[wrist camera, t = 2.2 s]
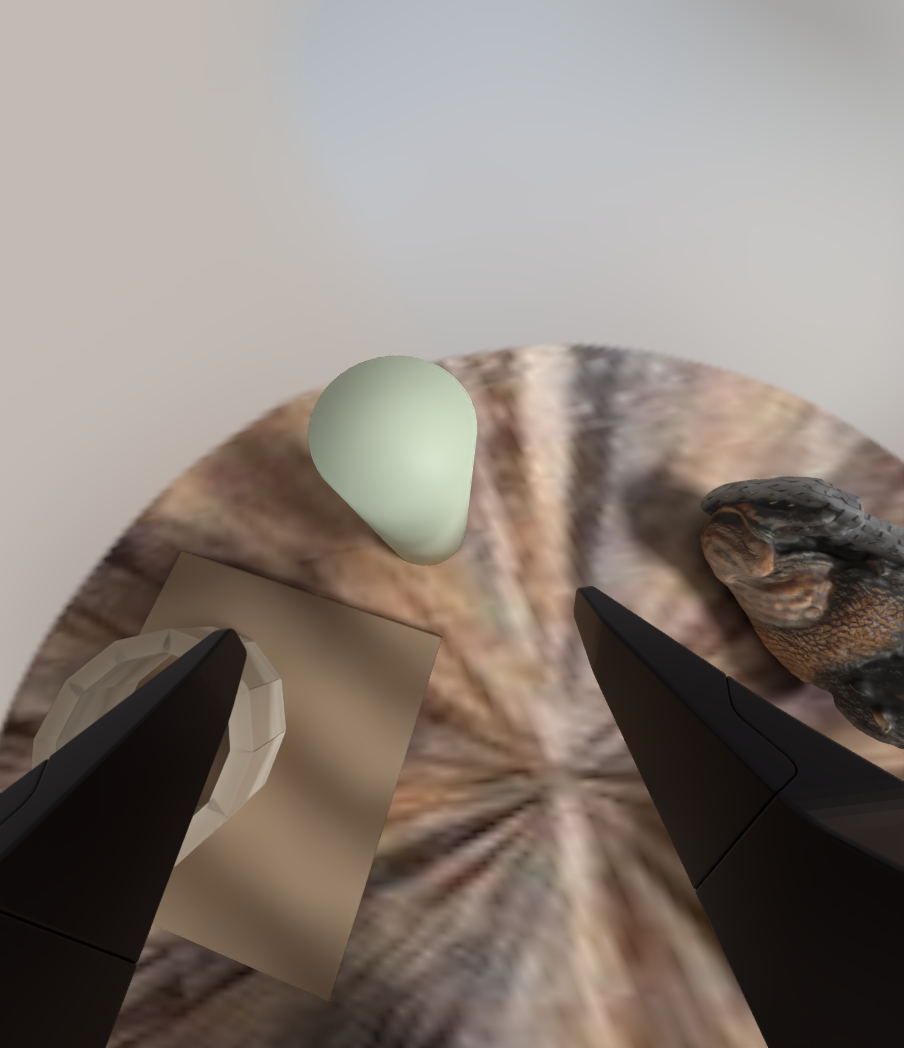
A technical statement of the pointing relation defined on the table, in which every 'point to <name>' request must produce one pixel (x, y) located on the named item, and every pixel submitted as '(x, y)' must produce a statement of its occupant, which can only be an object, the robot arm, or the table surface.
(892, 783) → the robot arm
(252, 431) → the table surface
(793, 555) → the dark brown lumpy piece
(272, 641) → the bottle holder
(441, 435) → the pale green peg
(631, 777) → the table surface
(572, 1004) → the table surface
